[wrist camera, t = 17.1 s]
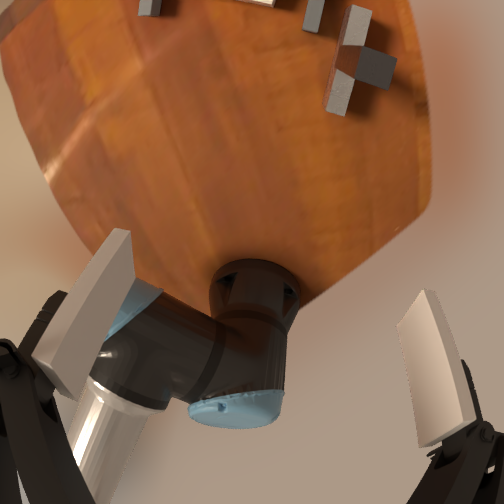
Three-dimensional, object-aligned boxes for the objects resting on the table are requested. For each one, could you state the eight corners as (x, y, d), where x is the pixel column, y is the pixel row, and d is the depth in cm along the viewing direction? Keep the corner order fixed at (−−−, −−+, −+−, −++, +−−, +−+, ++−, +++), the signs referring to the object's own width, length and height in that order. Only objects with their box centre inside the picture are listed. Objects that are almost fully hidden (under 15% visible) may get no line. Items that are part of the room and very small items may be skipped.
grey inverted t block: (341, 108, 30) (368, 150, 19) (319, 102, 30) (335, 140, 19) (365, 15, 22) (411, 0, 12) (343, 8, 22) (376, -14, 12)
